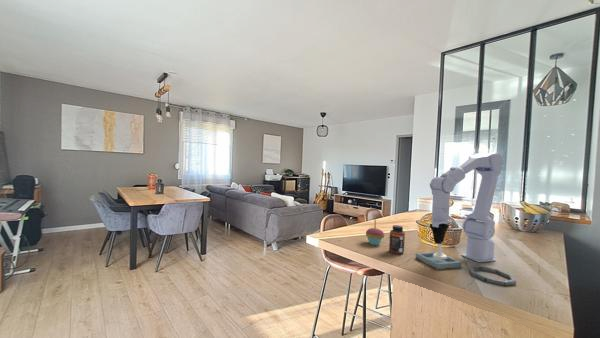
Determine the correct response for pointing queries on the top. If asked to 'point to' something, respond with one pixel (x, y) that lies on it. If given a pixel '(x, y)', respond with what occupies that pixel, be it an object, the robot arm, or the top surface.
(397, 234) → the supplement bottle
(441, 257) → the chess piece
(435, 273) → the top surface
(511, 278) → the collar
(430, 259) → the tray
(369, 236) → the cupcake
